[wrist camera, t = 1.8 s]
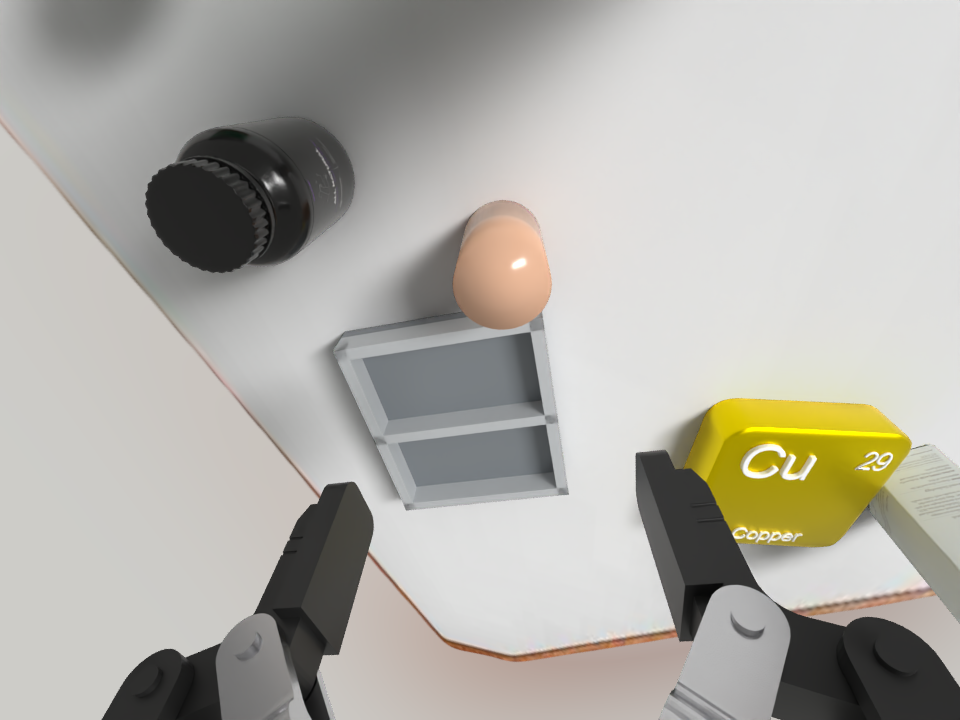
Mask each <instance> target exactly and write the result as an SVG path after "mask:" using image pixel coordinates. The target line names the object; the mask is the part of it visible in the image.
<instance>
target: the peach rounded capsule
mask: <svg viewBox="0 0 960 720" xmlns="http://www.w3.org/2000/svg"><path fill="white" fill-rule="evenodd" d="M551 286H552V281H551V274H550V269H549V265H548V261H547V256H546V252H545V248H544V243H543V239H542V235H541V230H540V227H539V224H538V222H537V220H536V218H535V217H534V215H533V214H532V213H531V212H530V211H529V210H528V209H527V208H526V207H524V206H522V205H521V204H518V203H516V202H512V201H506V200H500V201H494V202H490V203H488V204H485V205H484V206H482V207H480V208H479V209H478V210H477V211H476V212H475V213H474V214H473V215H472V216H471V217H470V219H469V221H468V223H467V225H466V228H465V231H464V236H463V240H462V244H461V248H460V252H459V256H458V260H457V264H456V268H455V272H454V276H453V292H454V296H455V299H456V302H457V304H458V306H459V307H460V309H461V310H462V312H463V313H464V314H465V315H466V316H467V317H468V318H469V319H471V320H472V321H474V322H475V323H477V324H479V325H481V326H484V327H486V328H491V329H497V330H506V329H513V328H517V327H520V326H523V325H525V324H527V323H528V322H530V321H532V320H533V319H534V318H535V317H537V316H538V315H539V314H540V313H541V311H542V310H543V309H544V307H545V306H546V304H547V302H548V299H549V297H550V293H551Z"/></svg>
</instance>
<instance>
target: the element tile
mask: <svg viewBox="0 0 960 720" xmlns="http://www.w3.org/2000/svg"><path fill="white" fill-rule="evenodd" d="M911 445H912V442H911V441H910V439H909V437H908V436H907V435H906V434H905V433H903V432H902V431H901V430H900V429H899V428H898V427H897V426H896V425H895V424H893V423H892V422H891V421H890V420H889V419H888V418H887V417H886V416H885V415H883V414H882V413H881V412H880V411H879V410H878V409H877V408H875V407H873V406H871V405H866V404H850V403H828V402H807V401H786V400H765V399H743V398H735V399H728V400H724V401H720V402H719V403H717V404H715V405H713V406H712V407H711V408H710V409H709V410H708V412H707V413H706V414H705V416H704V419H703V421H702V424H701V426H700V429H699V431H698V434H697V436H696V439H695V441H694V444H693V446H692V449H691V451H690V453H689V456H688V458H687V461H686V463H685V466H684V468H683V469H688V468H691V469H692V470H693V471H694V472H696V473H697V474H698V475H699V476H700V477H701V478H702V479H703V480H704V481H705V482H706V483H707V484H708V486H709V488H710V490H711V492H712V494H713V496H714V498H715V500H716V503H717V505H718V506H719V508H720V510H721V512H722V514H723V516H724V520H725V521H726V522H727V524H728V526H729V528H730V530H731V532H732V534H733V536H734V538H735V541H736V543H743V544H762V545H780V546H799V547H824V546H831V545H833V544H835V543H836V542H837V541H838V540H840V539H841V538H842V537H843V536H844V535H845V534H846V532H847V531H848V530H849V528H850V527H851V526H852V525H853V523H854V522H855V521H856V520H857V518H858V517H859V516H860V515H861V513H862V512H863V511H864V510H865V508H866V507H867V506H868V504H869V503H870V502H871V501H872V499H873V498H874V497H875V496H876V494H877V493H878V492H879V491H880V489H881V488H882V487H883V486H884V484H885V483H886V482H887V480H888V479H889V478H890V477H891V475H892V474H893V473H894V472H895V470H896V469H897V468H898V467H899V465H900V464H901V463H902V461H903V460H904V459H905V458H906V456H907V455H908V454H909V452H910V450H911Z"/></svg>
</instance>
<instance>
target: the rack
mask: <svg viewBox="0 0 960 720" xmlns="http://www.w3.org/2000/svg"><path fill="white" fill-rule="evenodd" d="M333 353H334V355H335V357H336V359H337V362H338V364H339V366H340V368H341V370H342V372H343V375H344V377H345V379H346V381H347V383H348V385H349V388H350V390H351V392H352V394H353V396H354V398H355V401H356V403H357V405H358V407H359V409H360V411H361V414H362V416H363V418H364V420H365V422H366V424H367V426H368V429H369V431H370V433H371V435H372V437H373V439H374V442H375V444H376V446H377V448H378V450H379V452H380V455H381V457H382V459H383V461H384V463H385V465H386V468H387V470H388V472H389V474H390V476H391V478H392V481H393V483H394V485H395V487H396V489H397V491H398V494H399V496H400V498H401V500H402V502H403V504H404V507H405V509H406V510H416V509H426V508H436V507H447V506H457V505H467V504H477V503H487V502H497V501H507V500H517V499H527V498H538V497H548V496H558V495H568V494H569V493H568V486H567V479H566V473H565V466H564V459H563V452H562V445H561V439H560V432H559V425H558V418H557V411H556V405H555V398H554V391H553V384H552V377H551V371H550V364H549V357H548V350H547V344H546V337H545V330H544V323H543V316H542V311H541V313H540V314H539V315H538V316H537V317H535V318H534V319H533V320H532V321H530V322H528V323H527V324H525V325H523V326H520V327H517V328H513V329H506V330H497V329H491V328H486V327H484V326H481V325H479V324H477V323H475V322H474V321H472V320H471V319H469V318H468V317H467V316H466V315H465V314H464V313H463V312H460V313H454V314H448V315H442V316H436V317H430V318H424V319H418V320H412V321H406V322H400V323H394V324H388V325H382V326H376V327H370V328H364V329H358V330H352V331H346V332H344V334H343V335H342V337H341V339H340V340H339V342H338V344H337V345H336V347H335V348H334V350H333Z"/></svg>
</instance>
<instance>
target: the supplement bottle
mask: <svg viewBox="0 0 960 720" xmlns="http://www.w3.org/2000/svg"><path fill="white" fill-rule="evenodd" d="M354 188H355V181H354V173H353V168H352V165H351V162H350V160H349V157H348V155H347V153H346V151H345V150H344V148H343V147H342V145H341V144H340V143H339V141H338V140H337V139H336V138H335V137H334V136H333V135H332V134H331V133H330V132H329V131H327V130H326V129H325V128H323V127H322V126H320V125H318V124H317V123H315V122H312V121H310V120H307V119H304V118H298V117H282V118H274V119H268V120H261V121H255V122H248V123H242V124H235V125H229V126H222V127H216V128H213V129H209V130H206V131H203V132H201V133H199V134H197V135H195V136H194V137H193V138H191V139H190V140H189V141H188V142H187V143H186V144H185V145H184V146H183V148H182V149H181V151H180V153H179V155H178V157H177V159H176V162H175V163H173V164H170V165H168V166H167V167H165V168H162V169H160V170H159V171H158V174H156V175H154V176H152V181H151V182H150V183H149V184H148V191H147V192H146V193H145V195H146V199H147V200H146V203H145V205H146V207H147V209H148V210H147V215H148V217H149V218H150V220H151V226H152V227H153V228H154V229H155V231H156V234H157V236H158V237H159V238H160V239H161V240H162V242H163V244H164V245H165V246H166V247H168V248H169V249H170V250H171V252H172V253H173V254H174V255H176V256H178V257H179V258H180V259H181V260H182V261H184V262H187V263H189V264H190V265H191V266H193V267H198V268H199V269H201V270H203V271H206V270H207V271H210V272H212V273H214V272H219V273H225V272H233V271H235V270H236V269H240V268H242V267H244V266H245V265H249V266H257V267H265V266H273V265H277V264H280V263H283V262H285V261H287V260H289V259H290V258H292V257H294V256H295V255H296V254H298V253H299V252H300V251H301V250H303V249H304V248H305V247H306V246H307V245H309V244H310V243H311V242H312V241H314V240H315V239H316V238H317V237H318V236H320V235H321V234H322V233H323V232H325V231H326V230H327V229H328V228H329V227H331V226H332V225H333V224H334V223H336V222H337V221H338V220H339V219H340V218H341V217H342V216H343V215H344V214H345V212H346V211H347V210H348V208H349V206H350V204H351V202H352V199H353V195H354Z"/></svg>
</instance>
